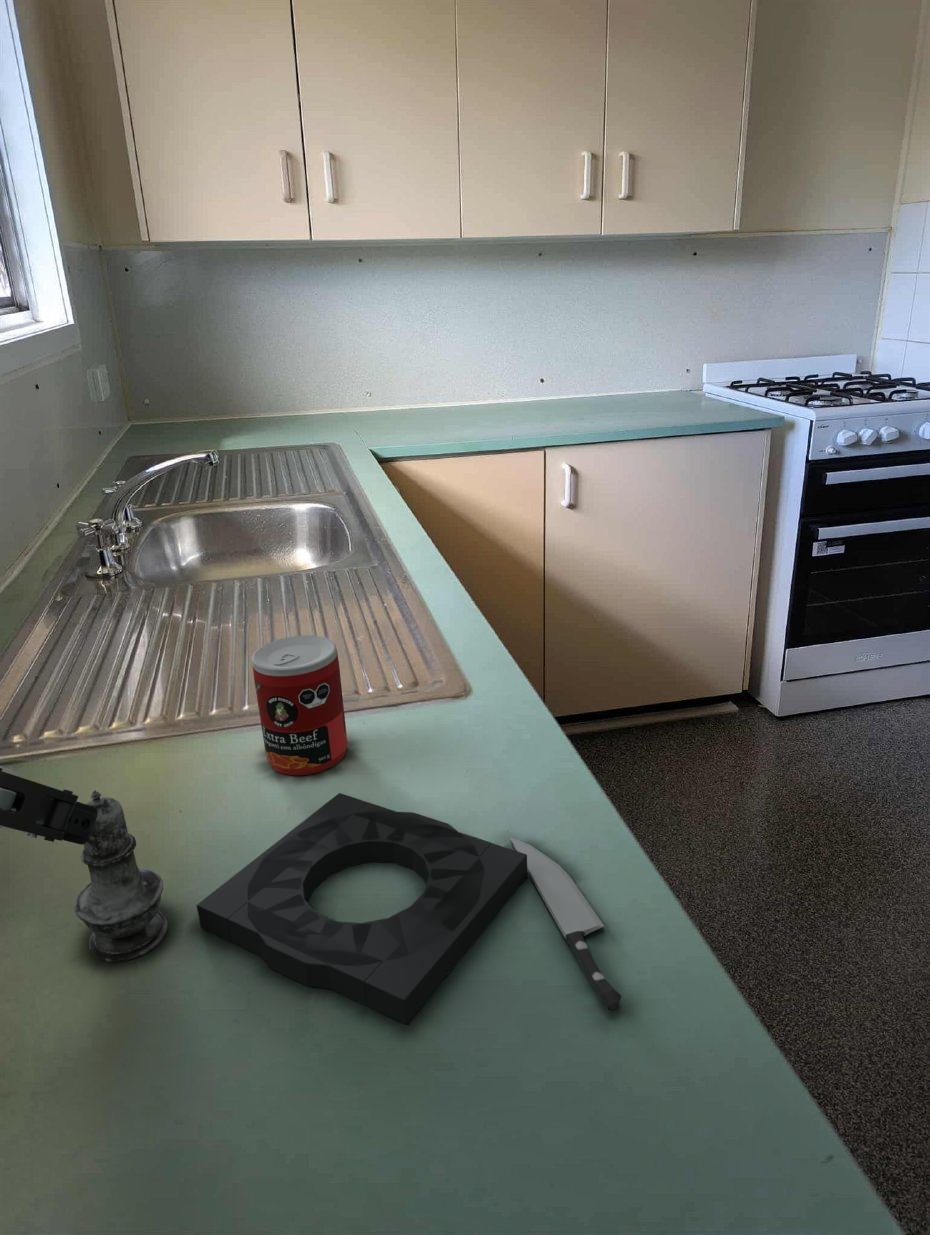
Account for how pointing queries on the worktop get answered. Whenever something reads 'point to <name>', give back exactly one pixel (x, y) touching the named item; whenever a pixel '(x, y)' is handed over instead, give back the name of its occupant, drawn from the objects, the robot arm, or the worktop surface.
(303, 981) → the black pad
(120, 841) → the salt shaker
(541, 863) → the chef's knife
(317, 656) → the canned food
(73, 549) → the worktop surface
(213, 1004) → the worktop surface
